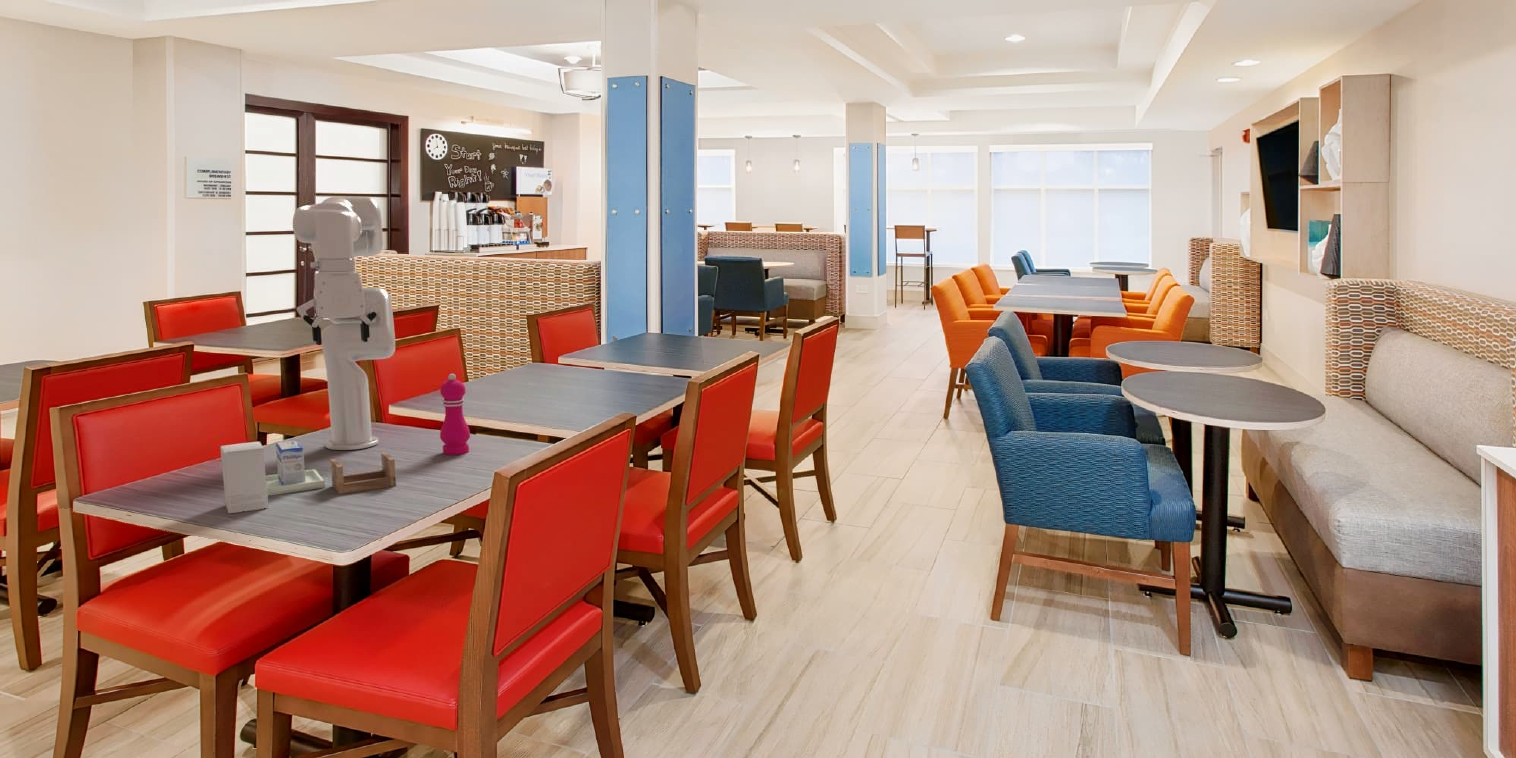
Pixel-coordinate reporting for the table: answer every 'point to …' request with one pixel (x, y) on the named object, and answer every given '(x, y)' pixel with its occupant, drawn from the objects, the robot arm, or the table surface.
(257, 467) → the supplement box
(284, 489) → the tray
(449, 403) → the pepper mill
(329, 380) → the robot arm
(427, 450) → the table surface
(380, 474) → the holder
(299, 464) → the medicine box
